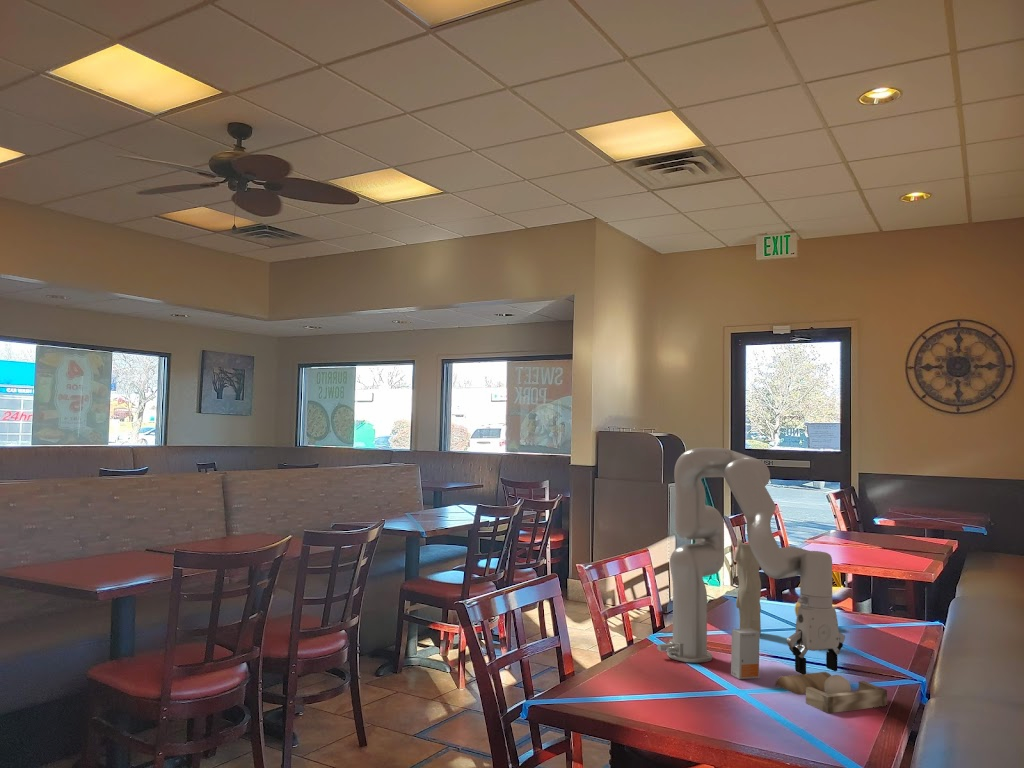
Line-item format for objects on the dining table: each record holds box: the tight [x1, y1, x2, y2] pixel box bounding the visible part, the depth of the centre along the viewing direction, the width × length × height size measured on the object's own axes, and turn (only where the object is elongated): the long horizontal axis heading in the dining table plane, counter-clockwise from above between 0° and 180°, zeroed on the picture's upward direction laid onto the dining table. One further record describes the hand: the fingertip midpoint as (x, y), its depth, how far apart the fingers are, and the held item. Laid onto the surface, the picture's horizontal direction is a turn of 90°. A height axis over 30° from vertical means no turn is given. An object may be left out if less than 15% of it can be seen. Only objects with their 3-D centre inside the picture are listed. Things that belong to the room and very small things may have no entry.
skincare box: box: [730, 628, 761, 680], centre depth 204 cm, size 6×4×12 cm
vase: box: [733, 538, 762, 634], centre depth 251 cm, size 9×8×30 cm
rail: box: [805, 680, 888, 714], centre depth 184 cm, size 18×7×4 cm, turn 110°
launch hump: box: [775, 671, 832, 695], centre depth 197 cm, size 13×8×8 cm, turn 110°
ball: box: [824, 674, 852, 694], centre depth 187 cm, size 6×6×6 cm
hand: (816, 671), depth 194 cm, fingers open, 9 cm apart
